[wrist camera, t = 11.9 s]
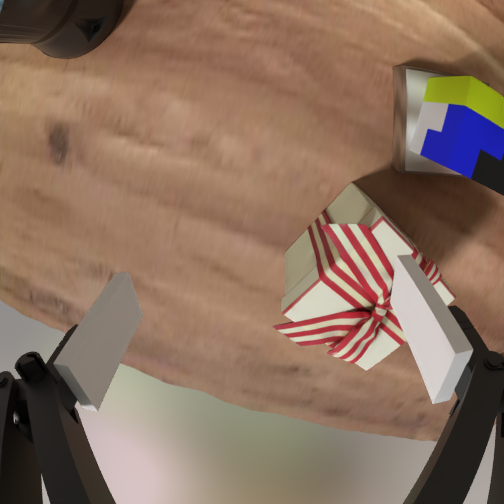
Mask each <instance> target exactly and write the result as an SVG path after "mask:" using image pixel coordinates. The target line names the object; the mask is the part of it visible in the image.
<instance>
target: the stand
mask: <svg viewBox="0 0 504 504" xmlns="http://www.w3.org/2000/svg"><path fill="white" fill-rule="evenodd" d="M452 76H457V75H453V74H448V73H444V72H439V71H434V70H429V69H423V68H417V67H411V66H405V65H400V66H396V67H393V85H394V132H393V159H392V168H394V169H395V170H397V171H398V172H400V173H406V174H423V175H437V176H450V177H461V178H468V177H466V176H464V175H462V174H460V173H457V172H455V171H453V170H451V169H449V168H446V167H444V166H442V165H440V164H438V163H436V162H434V161H432V160H430V159H428V158H425V157H423V156H421V155H419V154H417V153H414V152H412V151H410V150H409V149H410V145H411V142H412V139H413V135H414V132H415V128H416V125H417V121H418V118H419V114H420V110H421V107H422V103H423V99H424V95H425V91H426V87H427V83H428V79H429V78H434V77H452ZM482 83H484V82H482ZM484 84H485V85H487V86H488V87H489V84H488V83H484Z"/></svg>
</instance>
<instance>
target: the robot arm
mask: <svg viewBox="0 0 504 504" xmlns="http://www.w3.org/2000/svg"><path fill="white" fill-rule="evenodd" d="M122 4H123V0H0V43H20V44H31V45H33V46H35V47H36V48H38V49H39V50H41V51H42V52H43V53H44V54H46V55H47V56H50V57H53V58H60V59H72V58H77V57H80V56H82V55H85V54H87V53H88V52H90V51H92V50H93V49H94V48H96V47H97V46H98V45H99V44H100V43H101V42H102V41H103V40H104V39H105V38H106V37H107V36H108V35H109V33H110V32H111V31H112V29H113V28H114V26H115V24H116V22H117V20H118V18H119V15H120V13H121V9H122ZM390 304H391V306H392V308H393V310H394V312H395V315H396V317H397V319H398V321H399V323H400V325H401V328H402V330H403V332H404V334H405V337H406V339H407V341H408V344H409V346H410V348H411V351H412V353H413V355H414V358H415V360H416V363H417V365H418V367H419V370H420V372H421V375H422V377H423V380H424V382H425V385H426V388H427V390H428V393H429V395H430V398H431V401H432V404H435V403H440V402H444V401H448V400H450V398H451V396H452V394H453V392H454V390H455V392H456V395H457V397H458V399H457V400H456V402H455V404H454V406H453V408H452V409H451V411H450V413H449V414H450V416H449V419H448V421H447V423H446V425H445V428H444V430H443V432H442V434H441V436H440V438H439V440H438V442H437V444H436V446H435V448H434V451H433V452H432V454H431V456H430V458H429V460H428V462H427V464H426V465H425V467H424V469H423V471H422V473H421V474H420V476H419V478H418V480H417V482H416V483H415V485H414V487H413V488H412V490H411V491H410V493H409V495H408V496H407V498H406V499H405V501H404V503H403V504H463V502H464V500H465V498H466V496H467V494H468V491H469V489H470V487H471V485H472V482H473V480H474V478H475V475H476V473H477V470H478V468H479V465H480V463H481V460H482V457H483V455H484V452H485V449H486V446H487V443H488V441H489V438H490V435H491V431H492V428H493V425H494V422H495V418H496V438H495V450H494V461H493V469H492V476H491V484H490V490H489V495H488V501H487V504H504V357H503V356H502V355H501V354H499V353H497V352H494V351H489V350H488V348H487V347H486V345H485V343H484V342H483V340H482V339H481V337H480V335H479V334H478V332H477V331H476V329H475V328H474V326H473V325H472V323H471V322H470V320H469V319H468V317H467V316H466V314H465V313H464V312H463V311H462V310H461V309H459V308H458V307H457V306H448V307H447V306H446V304H445V303H444V301H443V300H442V298H441V297H440V295H439V294H438V292H437V291H436V289H435V288H434V286H433V285H432V284H431V282H430V281H429V279H428V278H427V276H426V275H425V273H424V272H423V271H422V269H421V268H420V266H419V265H418V264H417V262H416V261H415V260H414V258H413V257H412V256H411V254H410V255H397V256H396V264H395V272H394V279H393V286H392V293H391V299H390ZM142 317H143V313H142V310H141V307H140V304H139V301H138V298H137V295H136V292H135V289H134V286H133V283H132V280H131V277H130V274H129V272H120V273H116V274H115V275H114V276H113V278H112V279H111V280H110V282H109V283H108V284H107V286H106V287H105V288H104V290H103V291H102V293H101V294H100V295H99V297H98V298H97V300H96V301H95V302H94V304H93V305H92V307H91V308H90V309H89V311H88V312H87V314H86V315H85V316H84V318H83V319H82V321H81V322H80V324H79V325H75V326H74V327H72V328H71V329H70V330H69V331H68V332H67V333H66V335H65V336H64V338H63V340H62V341H61V342H60V343H59V347H57V348H56V350H55V351H54V353H53V354H52V356H51V357H50V359H49V360H48V362H47V363H46V364H45V363H44V361H43V359H42V358H41V356H40V354H39V353H37V352H28V353H26V354H24V355H22V356H21V357H20V358H19V359H18V360H17V362H16V364H15V369H16V371H17V372H18V374H19V375H20V377H21V378H22V379H15V378H14V377H13V375H12V374H11V373H10V372H8V371H4V372H1V373H0V504H43V499H42V482H41V474H42V477H43V481H44V484H45V487H46V491H47V494H48V497H49V501H50V504H116V503H115V501H114V499H113V497H112V495H111V493H110V491H109V489H108V486H107V484H106V482H105V480H104V478H103V475H102V473H101V471H100V469H99V466H98V464H97V462H96V459H95V457H94V455H93V452H92V449H91V447H90V444H89V442H88V439H87V436H86V434H85V431H84V428H83V426H82V422H81V420H80V417H79V414H78V411H77V409H76V408H75V404H76V402H77V400H78V402H79V403H80V404H81V406H82V407H83V409H88V410H93V411H98V410H99V408H100V405H101V403H102V401H103V398H104V396H105V394H106V392H107V389H108V388H109V385H110V383H111V381H112V379H113V377H114V375H115V372H116V370H117V368H118V366H119V364H120V362H121V360H122V358H123V356H124V353H125V351H126V349H127V347H128V345H129V343H130V341H131V339H132V337H133V335H134V333H135V331H136V329H137V327H138V325H139V323H140V321H141V319H142ZM496 415H497V417H496ZM14 418H15V423H14Z"/></svg>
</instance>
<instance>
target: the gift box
mask: <svg viewBox="0 0 504 504" xmlns="http://www.w3.org/2000/svg"><path fill="white" fill-rule="evenodd" d="M410 254H411V256H412V257H413V258H414V260H415V261H416V262H417V264H418V265H419V266H420V268H421V269H422V271H423V272H424V273H425V275H426V276H427V278H428V279H429V281H430V282H431V284H432V285H433V286H434V288H435V289H436V291H437V292H438V294H439V295H440V297H441V298H442V300H443V301H444V303H445V304H446V306H447V305H449V304H450V303H451V302H452V301H453V300H454V299H455V298H456V295H455V293H454V292H453V290H452V289H451V288H450V286H449V285H448V283H447V282H446V281H445V280H444V279H443V278H442V275H441V273H440V271H439V270H438V268H437V266H436V265H435V263H434V262H433V261H432V259H430V261H429V262H428V260H427V259H426V258H425V256H424V255H423V253H422V252H421V251H420V250H419V249H418V248H417V246H416V245H415V244H414V243H413V242H412V241H411V239H410V238H409V237H408V236H407V235H406V234H405V233H404V232H403V231H402V230H401V229H400V228H399V226H398V225H397V224H396V223H395V222H394V221H393V220H392V219H391V217H390V216H389V215H388V214H387V213H385V212H384V211H383V210H382V209H381V208H380V207H379V206H378V205H376V204H375V203H374V202H373V201H372V200H371V199H370V198H369V197H368V196H367V195H366V194H365V193H364V192H363V191H362V190H361V189H359V188H358V187H357V186H356V185H355V184H354V183H352V182H351V183H350V184H349V185H348V186H347V187H346V188H345V189H344V190H343V191H342V192H341V193H340V194H339V195H338V197H337V198H336V199H335V200H334V201H333V202H332V203H331V204H330V205H329V206H328V207H327V208H326V209H325V210H323V212H322V213H321V214H320V215H319V217H318V218H317V219H316V220H315V221H314V222H313V223H312V224H311V225H310V226H309V227H308V228H307V230H306V231H305V232H304V233H303V234H302V235H301V236H300V237H299V238H298V239H297V240H296V241H295V242H294V243H293V244H292V245H291V247H290V248H289V249H288V250H287V251H286V252H285V296H284V297H283V298H282V315H284V316H285V317H287V318H288V319H290V320H291V321H292V322H289V323H285V324H279V325H274V326H272V327H273V328H275V329H276V330H278V331H280V332H281V333H283V334H284V335H286V336H287V337H288V338H290V339H291V340H292V341H294V342H296V343H297V344H299V345H300V346H306V345H316V344H323V343H325V344H327V345H328V346H330V347H331V348H333V349H331V350H330V351H328V352H327V354H329V355H332V356H335V357H337V358H340V359H343V360H345V361H347V362H350V363H355V364H357V365H358V366H360V367H361V368H363V369H364V370H366V371H368V370H370V369H371V368H372V367H374V366H375V365H376V364H378V363H379V362H380V361H382V360H383V359H384V358H386V357H387V356H388V355H389V354H391V353H392V352H393V351H395V350H396V349H397V348H398V347H400V346H401V345H402V344H404V343H405V342H406V341H407V339H406V337H405V334H404V332H403V330H402V328H401V325H400V323H399V321H398V319H397V317H396V315H395V312H394V310H393V308H392V306H391V304H390V299H391V293H392V286H393V279H394V272H395V264H396V256H397V255H410Z"/></svg>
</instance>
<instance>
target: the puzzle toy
mask: <svg viewBox="0 0 504 504" xmlns="http://www.w3.org/2000/svg"><path fill="white" fill-rule="evenodd" d="M409 150H410V151H412V152H414V153H417V154H419V155H421V156H423V157H425V158H428V159H430V160H432V161H434V162H436V163H438V164H440V165H442V166H444V167H446V168H449V169H451V170H453V171H455V172H457V173H460V174H462V175H464V176H466V177H468V178H470V179H472V180H474V181H476V182H478V183H480V184H482V185H484V186H486V187H488V188H490V189H492V190H494V191H496V192H498V193H500V194H501V195H503V196H504V97H503V96H502V95H500V94H499V93H497V92H496V91H495V90H493V89H492V88H490V87H488V86H487V85H485V84H484V83H482V82H481V81H479V80H477V79H476V78H474V77H473V76H452V77H434V78H429V79H428V83H427V87H426V91H425V95H424V99H423V103H422V107H421V110H420V114H419V118H418V121H417V125H416V128H415V132H414V135H413V139H412V142H411V145H410V149H409Z"/></svg>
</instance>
